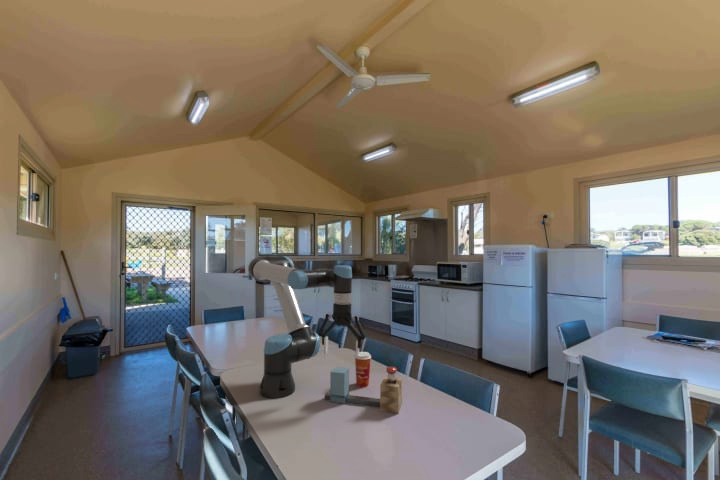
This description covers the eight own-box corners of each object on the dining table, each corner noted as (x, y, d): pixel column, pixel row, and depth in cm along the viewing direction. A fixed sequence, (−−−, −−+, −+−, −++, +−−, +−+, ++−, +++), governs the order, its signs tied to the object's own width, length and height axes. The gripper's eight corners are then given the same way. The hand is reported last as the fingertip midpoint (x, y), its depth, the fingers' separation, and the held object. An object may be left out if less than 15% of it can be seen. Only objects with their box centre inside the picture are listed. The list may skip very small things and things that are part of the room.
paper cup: (351, 386, 153) (351, 355, 153) (359, 380, 160) (359, 350, 160) (366, 389, 149) (366, 357, 150) (374, 383, 156) (374, 353, 156)
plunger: (385, 385, 132) (385, 369, 132) (387, 381, 135) (387, 366, 136) (395, 386, 131) (395, 370, 131) (397, 382, 134) (397, 367, 135)
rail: (324, 399, 139) (324, 395, 139) (327, 396, 142) (327, 392, 142) (381, 407, 132) (381, 402, 132) (383, 404, 135) (383, 399, 135)
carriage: (330, 401, 136) (330, 371, 137) (335, 395, 142) (335, 366, 143) (344, 403, 135) (344, 373, 135) (348, 397, 141) (349, 368, 141)
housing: (380, 411, 129) (380, 384, 130) (384, 401, 138) (385, 376, 138) (398, 413, 127) (398, 387, 128) (401, 403, 136) (401, 378, 136)
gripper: (310, 302, 139) (309, 354, 139) (369, 306, 133) (368, 360, 133) (317, 299, 147) (316, 348, 146) (373, 303, 141) (372, 354, 140)
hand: (341, 354), depth 140 cm, fingers open, 13 cm apart
